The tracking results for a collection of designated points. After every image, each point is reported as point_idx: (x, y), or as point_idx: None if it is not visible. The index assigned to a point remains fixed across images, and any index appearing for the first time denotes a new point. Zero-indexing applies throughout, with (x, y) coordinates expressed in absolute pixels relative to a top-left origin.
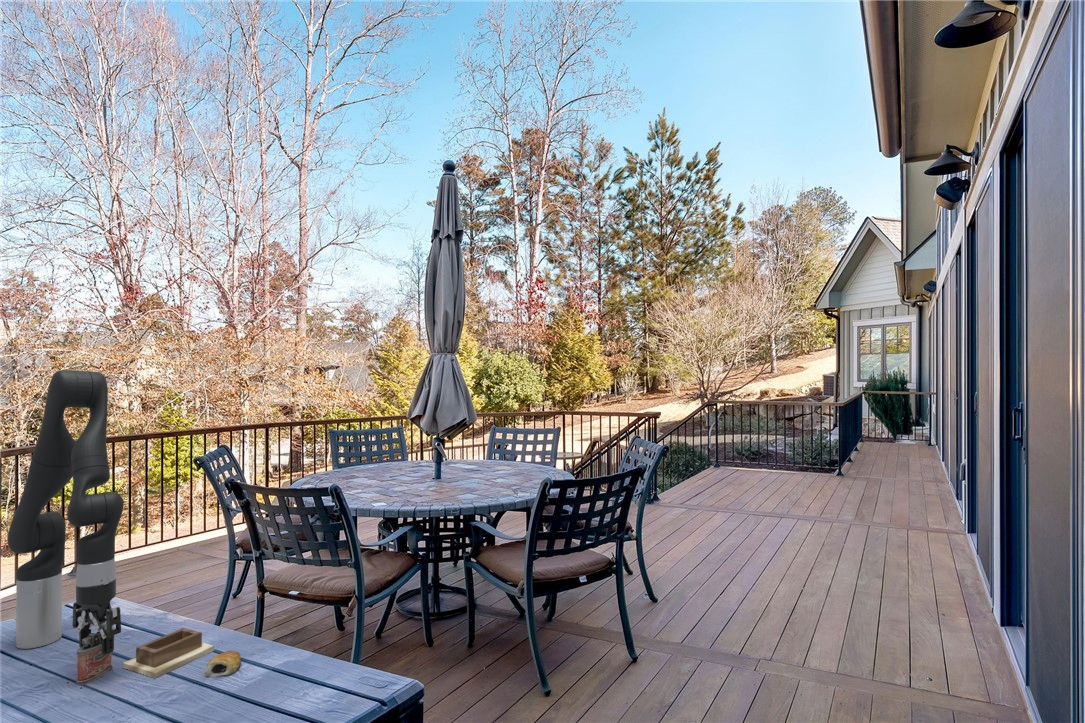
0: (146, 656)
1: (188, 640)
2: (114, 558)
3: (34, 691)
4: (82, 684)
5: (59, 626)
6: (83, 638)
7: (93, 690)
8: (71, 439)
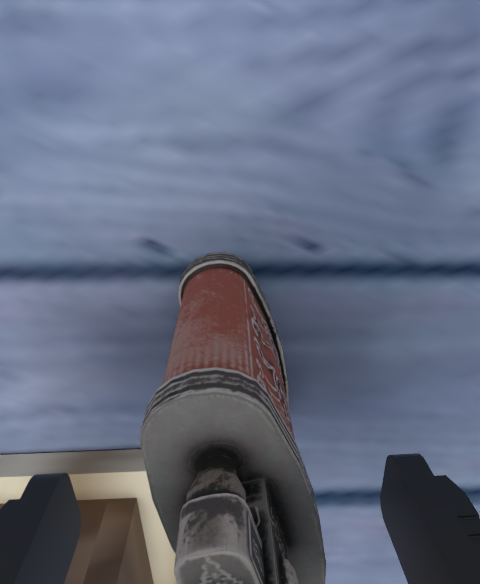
0: None
1: None
2: None
3: (401, 66)
4: (188, 267)
5: None
6: (426, 549)
7: (45, 259)
8: None
